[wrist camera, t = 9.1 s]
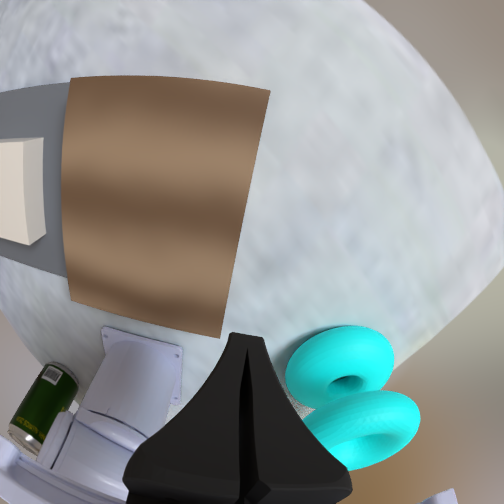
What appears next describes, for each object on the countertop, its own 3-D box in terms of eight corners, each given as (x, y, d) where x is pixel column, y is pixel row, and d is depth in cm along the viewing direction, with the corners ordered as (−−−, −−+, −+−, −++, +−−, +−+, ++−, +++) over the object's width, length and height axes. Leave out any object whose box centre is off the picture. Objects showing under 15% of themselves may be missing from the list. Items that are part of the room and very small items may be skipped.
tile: (46, 233, 19) (29, 245, 17) (-1, 222, 19) (-17, 232, 17) (43, 137, 16) (23, 141, 14) (-5, 139, 16) (-24, 144, 13)
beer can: (41, 355, 27) (-2, 423, 16) (72, 366, 27) (30, 443, 16) (55, 382, 29) (20, 446, 19) (85, 393, 29) (52, 464, 19)
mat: (79, 278, 22) (76, 280, 21) (-13, 248, 21) (-15, 249, 20) (84, 81, 15) (81, 81, 14) (-18, 97, 14) (-21, 97, 14)
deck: (224, 313, 22) (219, 338, 20) (88, 280, 22) (71, 300, 19) (268, 96, 16) (270, 90, 13) (95, 81, 15) (70, 78, 12)
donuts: (391, 400, 12) (440, 433, 15) (351, 297, 21) (404, 352, 24) (260, 462, 16) (339, 482, 18) (261, 363, 25) (326, 402, 28)
